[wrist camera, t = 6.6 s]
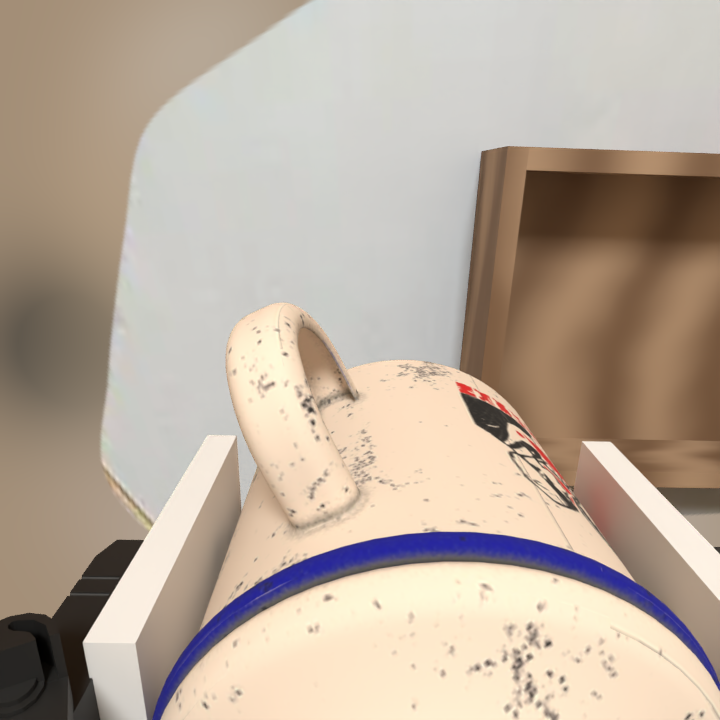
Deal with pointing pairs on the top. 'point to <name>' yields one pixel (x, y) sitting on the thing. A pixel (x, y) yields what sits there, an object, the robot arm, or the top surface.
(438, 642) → the teacup with lid
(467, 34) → the top surface
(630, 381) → the walnut box
